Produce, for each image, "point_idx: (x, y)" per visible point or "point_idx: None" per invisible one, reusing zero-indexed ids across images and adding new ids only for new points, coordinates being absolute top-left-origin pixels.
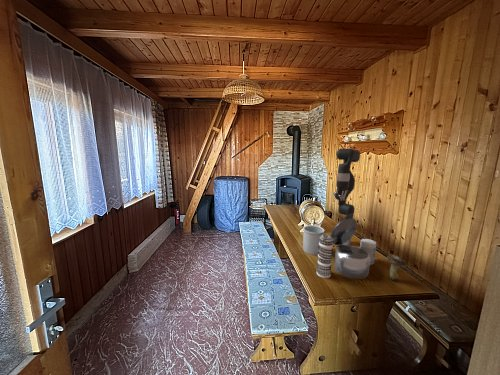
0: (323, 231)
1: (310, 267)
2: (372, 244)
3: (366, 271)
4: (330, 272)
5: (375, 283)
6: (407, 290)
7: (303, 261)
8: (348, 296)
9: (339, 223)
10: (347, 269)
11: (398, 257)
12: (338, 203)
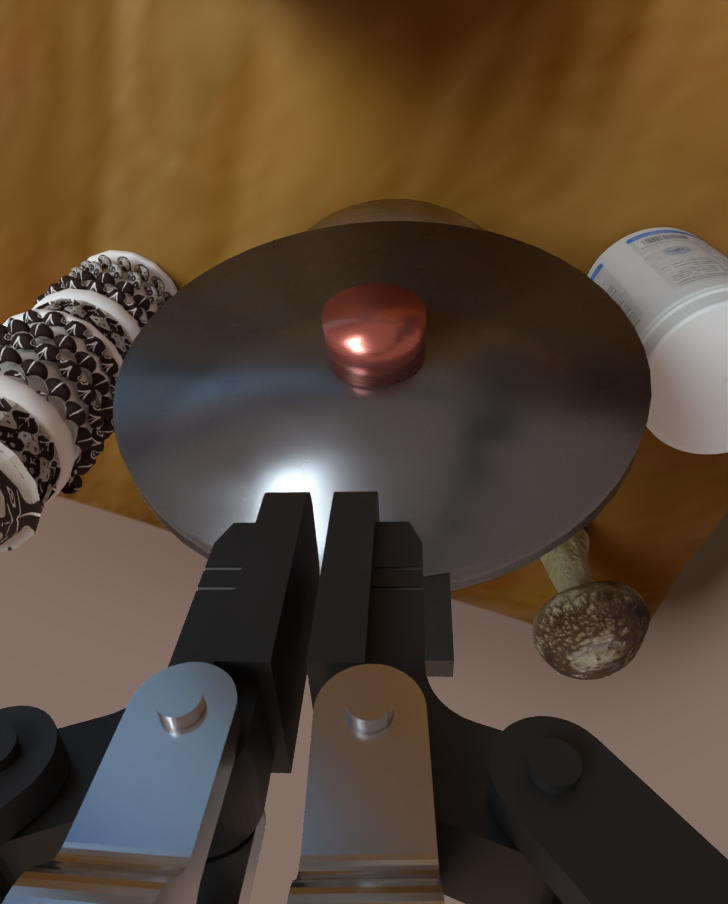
0: None
1: (60, 180)
2: (680, 449)
3: None
4: None
5: None
6: (525, 600)
7: (30, 47)
8: (157, 525)
9: (165, 522)
10: None
11: (606, 661)
12: (207, 579)
